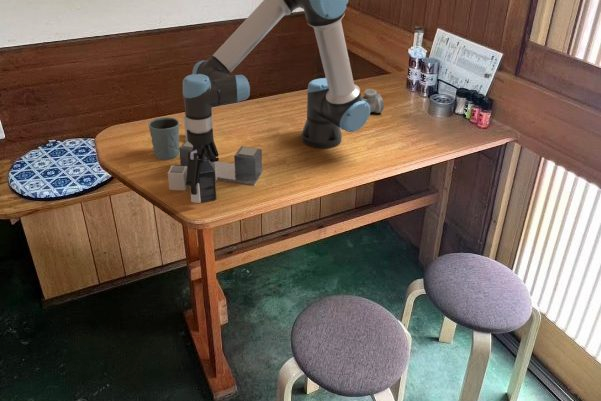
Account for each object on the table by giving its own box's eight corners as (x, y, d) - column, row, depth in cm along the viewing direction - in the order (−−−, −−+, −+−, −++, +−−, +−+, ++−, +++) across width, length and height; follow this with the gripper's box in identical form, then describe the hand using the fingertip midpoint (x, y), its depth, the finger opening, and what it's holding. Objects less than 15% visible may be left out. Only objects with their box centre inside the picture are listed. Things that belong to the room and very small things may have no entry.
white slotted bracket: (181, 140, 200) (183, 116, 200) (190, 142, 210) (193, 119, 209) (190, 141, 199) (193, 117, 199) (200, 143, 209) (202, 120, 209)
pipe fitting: (375, 106, 236) (376, 84, 229) (384, 115, 230) (385, 93, 223) (349, 113, 233) (349, 91, 226) (358, 122, 227) (358, 100, 220)
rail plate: (263, 170, 188) (263, 145, 183) (254, 185, 180) (253, 159, 175) (191, 160, 193) (189, 135, 188) (179, 174, 185) (176, 148, 179)
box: (193, 190, 176) (190, 160, 170) (210, 187, 178) (208, 157, 172) (199, 203, 170) (196, 173, 164) (217, 200, 172) (215, 169, 166)
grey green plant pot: (146, 157, 194) (142, 126, 187) (162, 145, 202) (159, 114, 195) (172, 163, 191) (168, 131, 184) (187, 150, 199) (184, 119, 192)
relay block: (188, 182, 180) (187, 165, 177) (185, 190, 176) (183, 173, 173) (173, 181, 180) (171, 164, 177) (169, 189, 176) (167, 172, 173)
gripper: (203, 110, 172) (208, 169, 184) (169, 145, 152) (176, 209, 163) (226, 113, 171) (229, 173, 183) (194, 148, 151) (200, 213, 162)
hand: (204, 190), depth 173 cm, fingers open, 13 cm apart
